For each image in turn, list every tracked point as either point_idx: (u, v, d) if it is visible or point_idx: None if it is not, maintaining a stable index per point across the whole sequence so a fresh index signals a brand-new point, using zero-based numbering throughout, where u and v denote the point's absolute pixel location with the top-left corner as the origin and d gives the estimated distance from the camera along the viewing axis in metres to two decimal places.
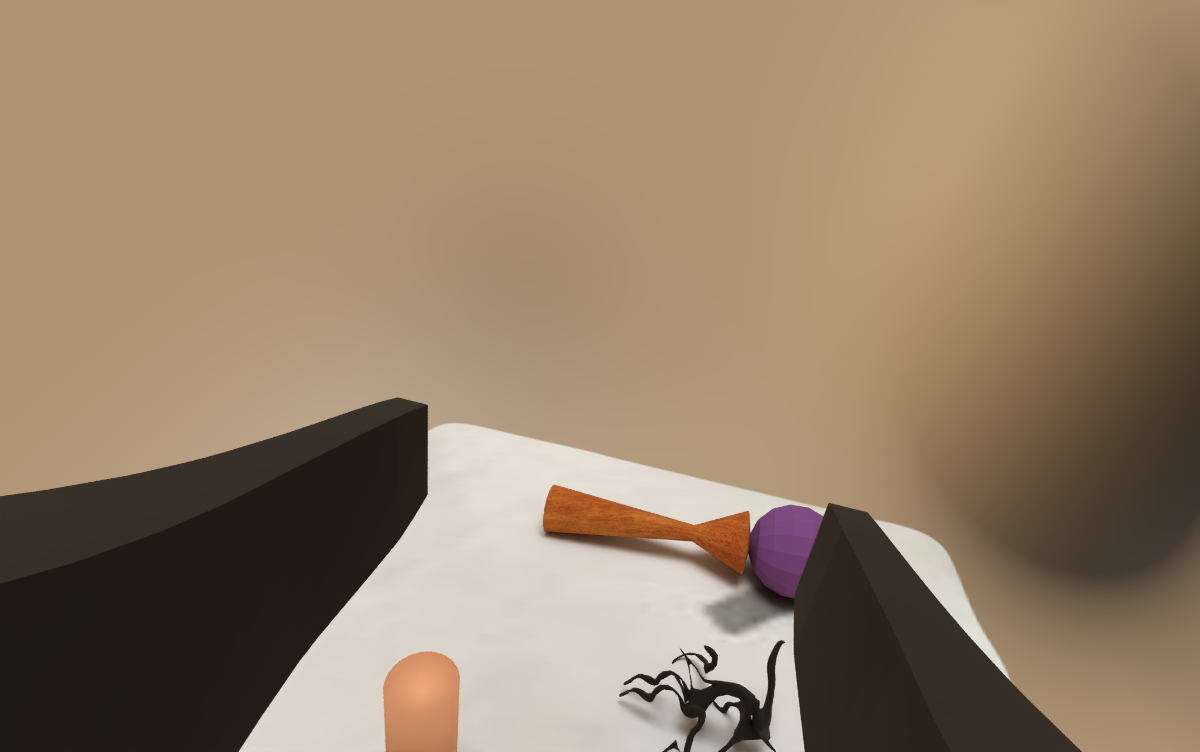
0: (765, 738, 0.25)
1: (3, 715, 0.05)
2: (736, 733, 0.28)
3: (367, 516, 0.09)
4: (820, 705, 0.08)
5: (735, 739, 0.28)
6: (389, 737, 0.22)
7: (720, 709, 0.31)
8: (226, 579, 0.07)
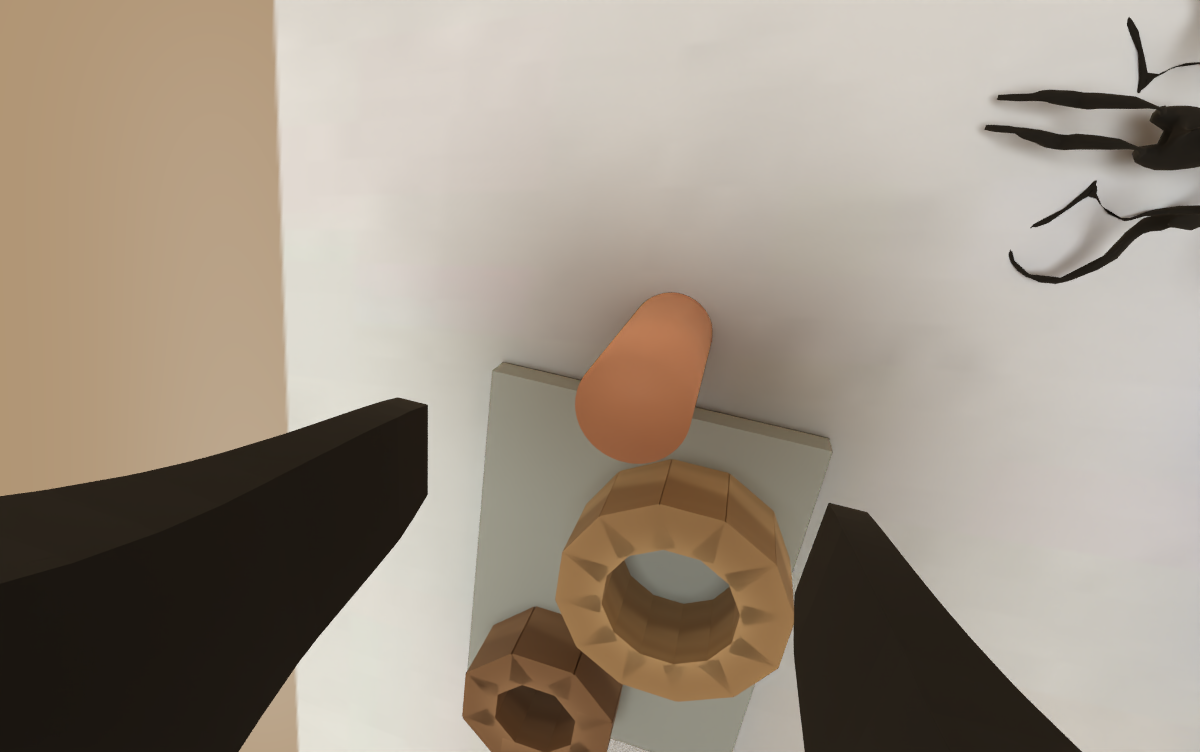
0: None
1: (3, 715, 0.05)
2: None
3: (367, 516, 0.09)
4: (820, 705, 0.08)
5: None
6: None
7: None
8: (226, 579, 0.07)
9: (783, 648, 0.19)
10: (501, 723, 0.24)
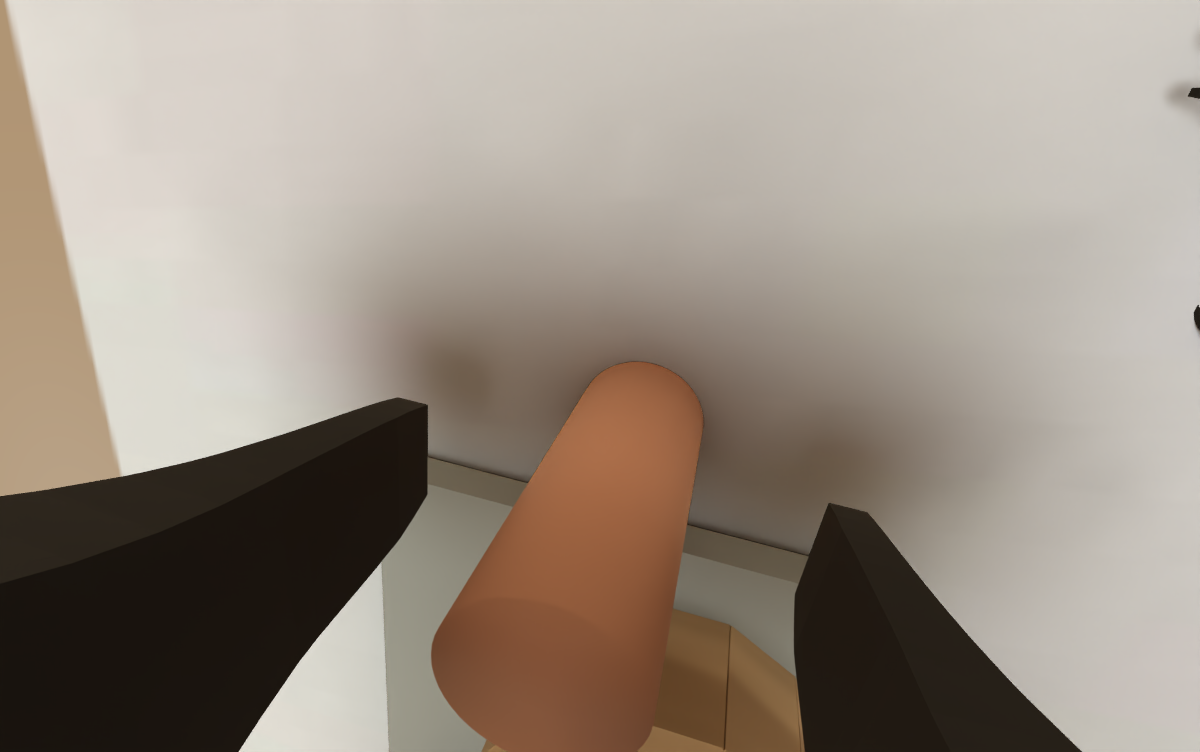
0: None
1: (3, 715, 0.05)
2: None
3: (367, 516, 0.09)
4: (819, 705, 0.08)
5: None
6: None
7: None
8: (226, 579, 0.07)
9: None
10: None
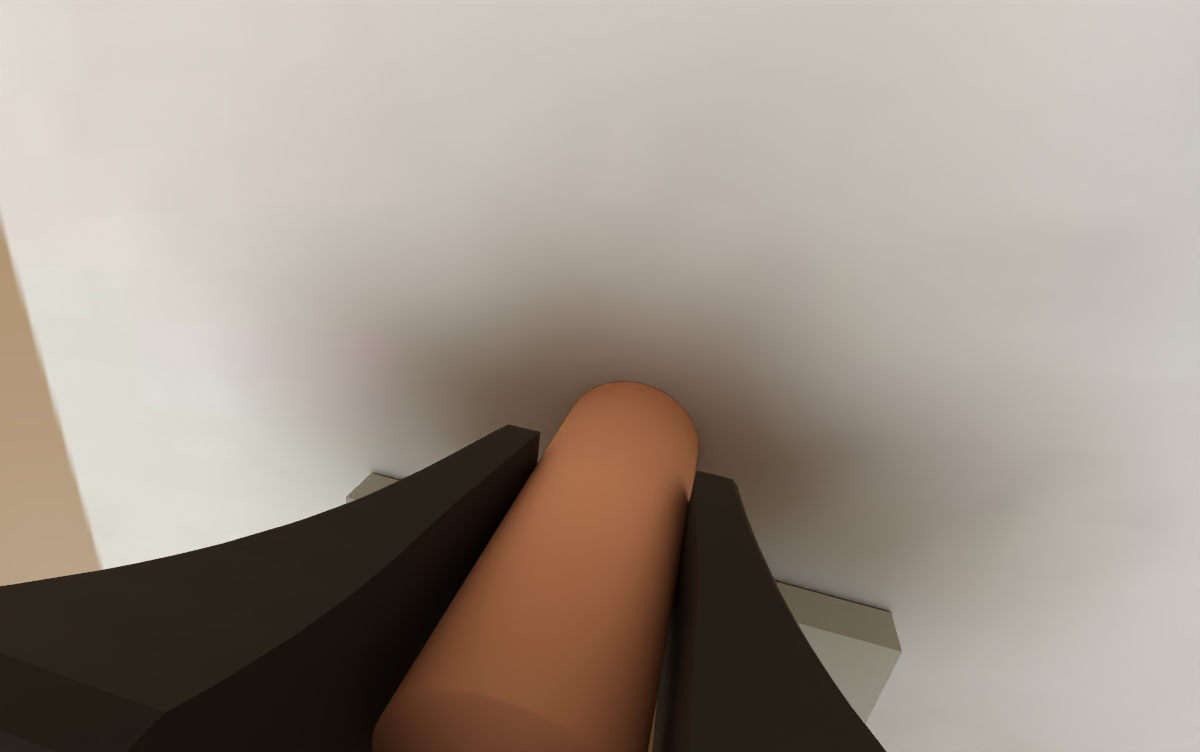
0: None
1: None
2: None
3: None
4: (666, 659, 0.08)
5: None
6: None
7: None
8: (393, 632, 0.06)
9: None
10: None
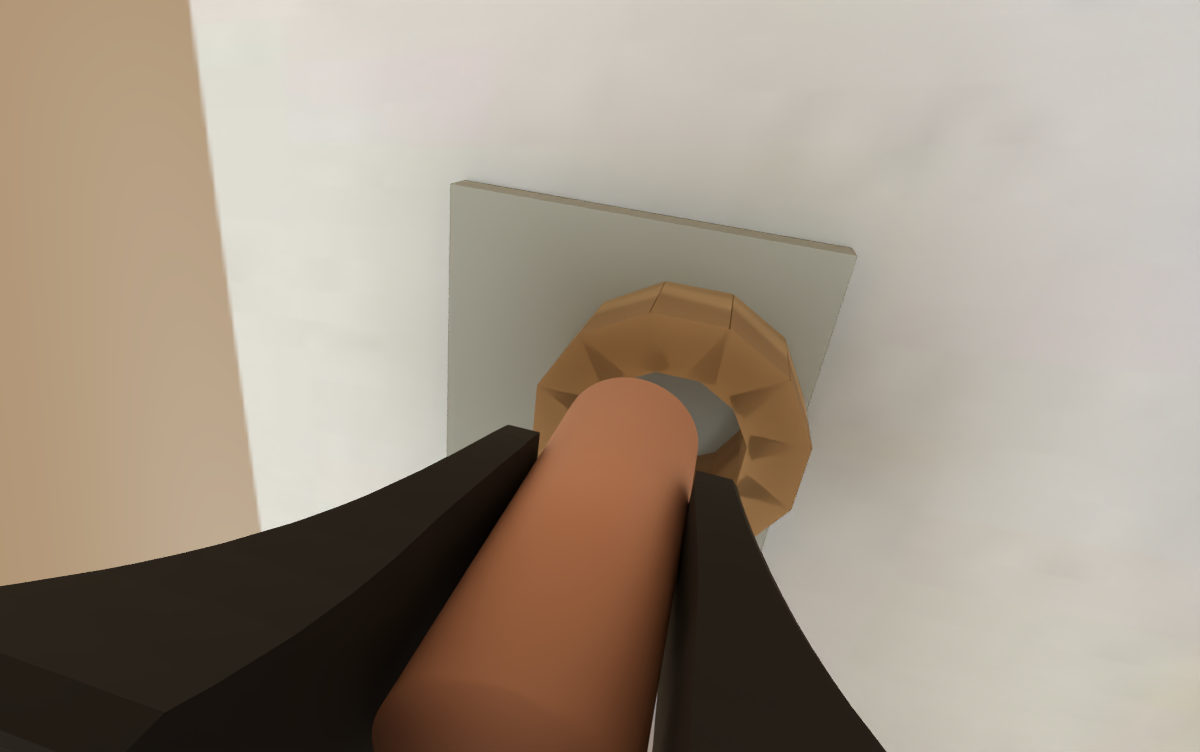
0: None
1: None
2: None
3: None
4: (666, 659, 0.08)
5: None
6: None
7: None
8: (393, 631, 0.06)
9: (797, 485, 0.16)
10: None
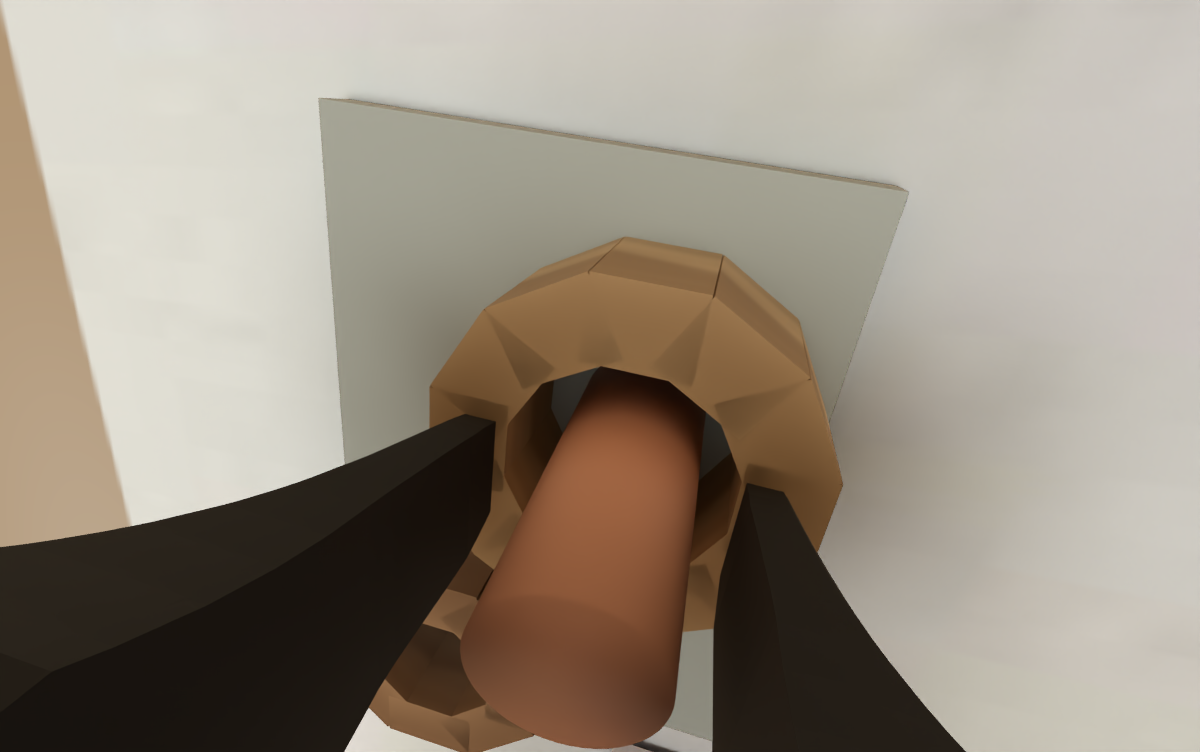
0: None
1: None
2: None
3: (442, 537, 0.09)
4: (724, 676, 0.08)
5: None
6: None
7: None
8: (326, 611, 0.07)
9: (819, 539, 0.10)
10: None
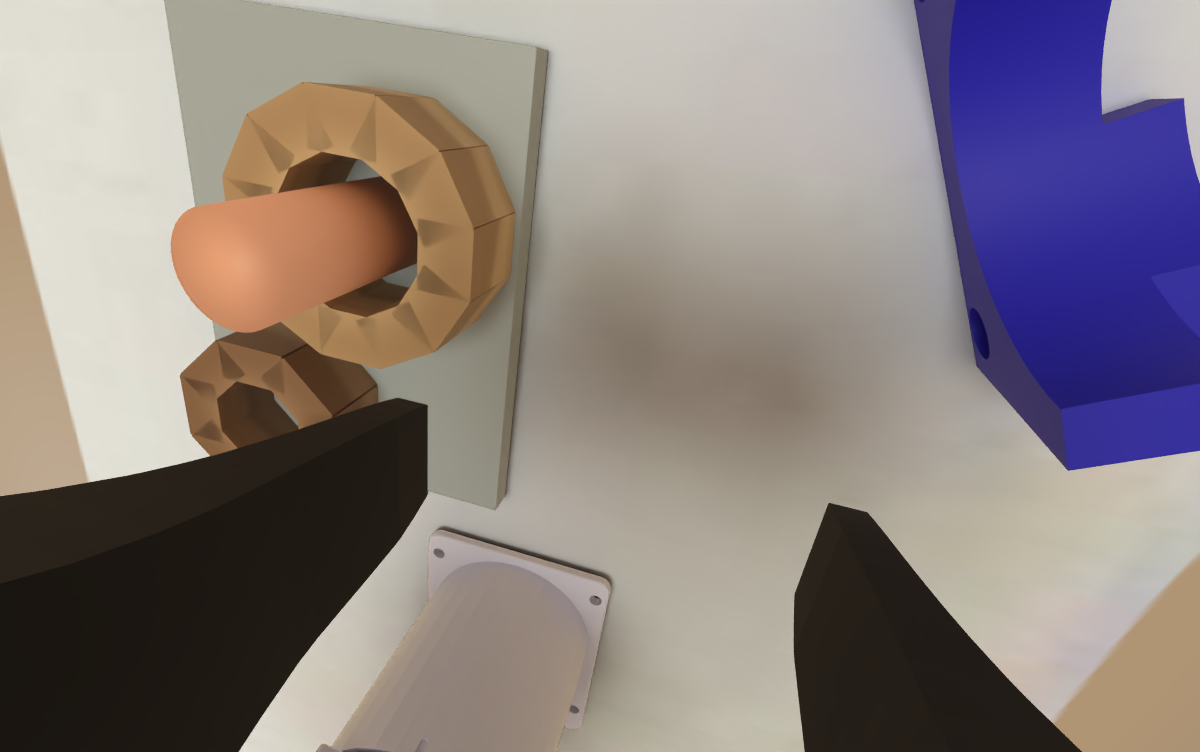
0: None
1: (3, 715, 0.05)
2: None
3: (367, 516, 0.09)
4: (819, 705, 0.08)
5: None
6: None
7: None
8: (226, 579, 0.07)
9: (470, 274, 0.16)
10: (232, 437, 0.21)
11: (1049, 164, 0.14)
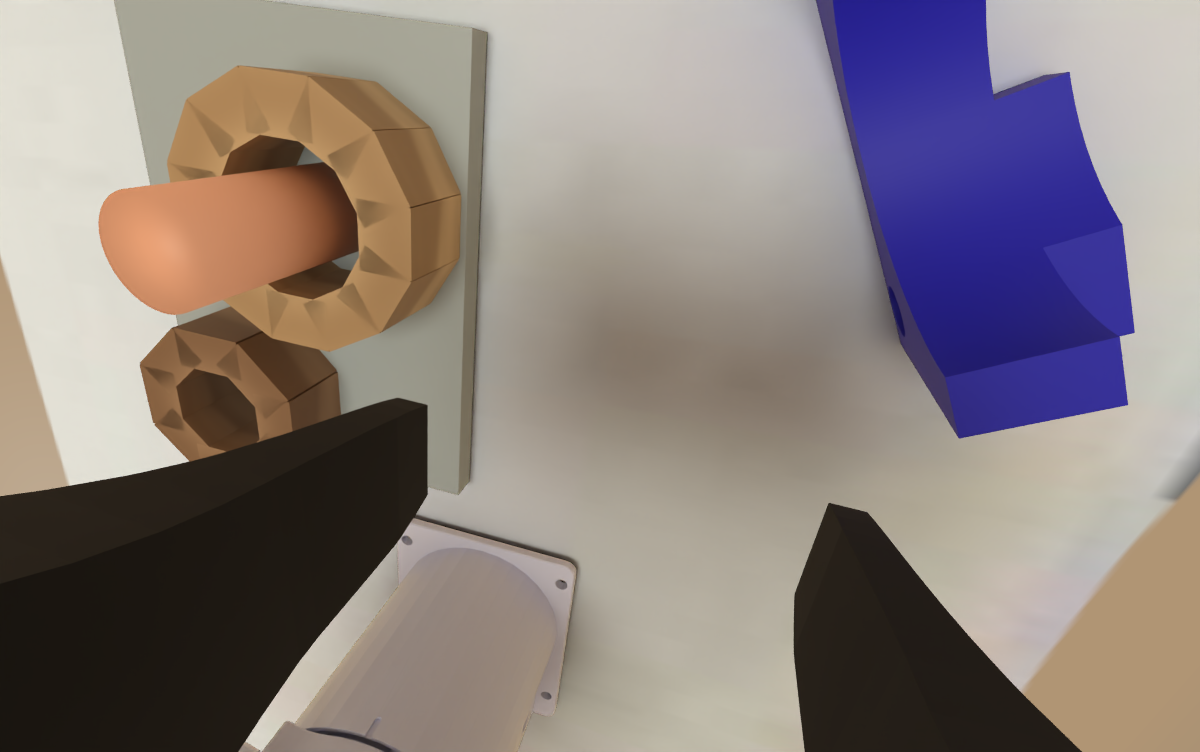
0: None
1: (3, 715, 0.05)
2: None
3: (367, 516, 0.09)
4: (820, 705, 0.08)
5: None
6: None
7: None
8: (226, 579, 0.07)
9: (410, 253, 0.16)
10: (193, 426, 0.21)
11: (946, 142, 0.14)
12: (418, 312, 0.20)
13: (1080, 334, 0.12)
